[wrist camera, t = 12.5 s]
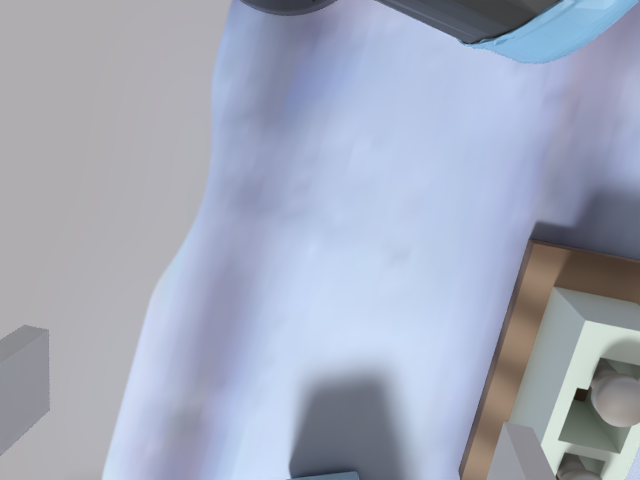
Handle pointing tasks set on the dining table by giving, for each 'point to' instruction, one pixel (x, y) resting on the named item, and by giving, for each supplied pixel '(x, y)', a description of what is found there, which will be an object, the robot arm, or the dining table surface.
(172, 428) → the dining table surface
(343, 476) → the radio
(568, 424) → the two-pocket foam insert
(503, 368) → the board
